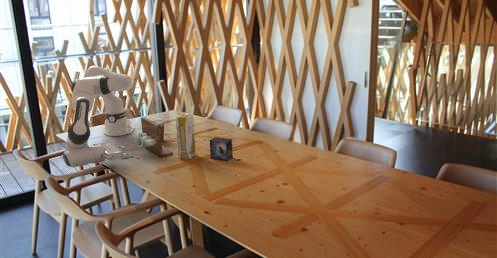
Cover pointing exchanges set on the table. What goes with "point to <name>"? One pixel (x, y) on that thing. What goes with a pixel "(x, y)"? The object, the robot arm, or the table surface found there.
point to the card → (126, 155)
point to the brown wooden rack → (154, 132)
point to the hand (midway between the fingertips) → (125, 148)
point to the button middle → (139, 139)
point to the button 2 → (149, 142)
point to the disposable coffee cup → (161, 128)
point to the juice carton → (185, 136)
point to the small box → (221, 148)
